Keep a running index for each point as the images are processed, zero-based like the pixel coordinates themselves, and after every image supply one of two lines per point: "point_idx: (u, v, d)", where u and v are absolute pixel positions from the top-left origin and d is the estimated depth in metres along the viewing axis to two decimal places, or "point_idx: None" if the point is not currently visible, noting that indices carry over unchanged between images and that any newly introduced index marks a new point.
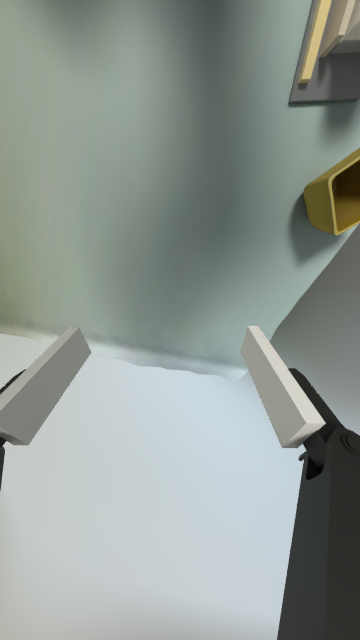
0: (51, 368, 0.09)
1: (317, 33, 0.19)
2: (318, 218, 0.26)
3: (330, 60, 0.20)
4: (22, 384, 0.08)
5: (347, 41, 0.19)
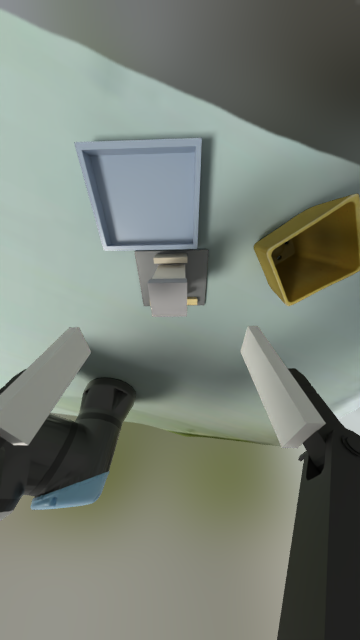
0: (51, 368, 0.09)
1: None
2: None
3: (188, 285, 0.28)
4: (22, 384, 0.08)
5: None
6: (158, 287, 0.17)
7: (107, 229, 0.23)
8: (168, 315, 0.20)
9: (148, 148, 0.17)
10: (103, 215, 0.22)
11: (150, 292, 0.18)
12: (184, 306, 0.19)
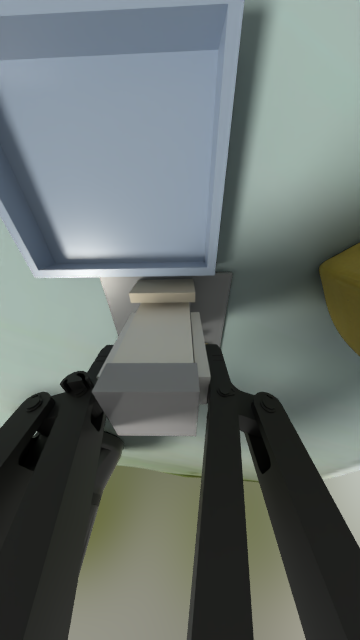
0: None
1: None
2: None
3: None
4: None
5: None
6: (123, 398, 0.07)
7: (41, 237, 0.12)
8: (154, 434, 0.09)
9: (93, 17, 0.06)
10: (26, 209, 0.11)
11: (104, 405, 0.07)
12: (190, 425, 0.08)
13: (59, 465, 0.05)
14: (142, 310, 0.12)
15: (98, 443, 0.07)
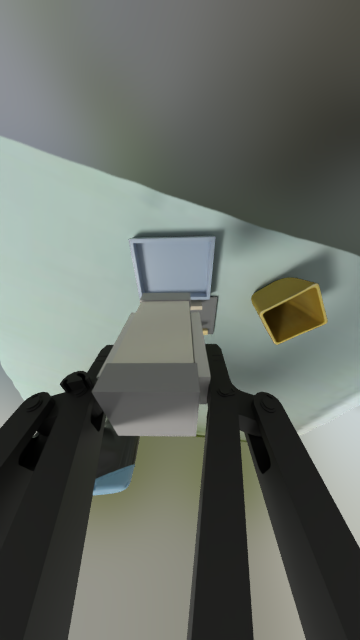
0: None
1: None
2: None
3: None
4: None
5: None
6: (123, 398, 0.07)
7: (142, 284, 0.30)
8: (154, 434, 0.09)
9: (178, 241, 0.25)
10: (141, 276, 0.29)
11: (104, 405, 0.07)
12: (190, 425, 0.08)
13: (59, 465, 0.05)
14: (142, 310, 0.12)
15: (98, 442, 0.07)
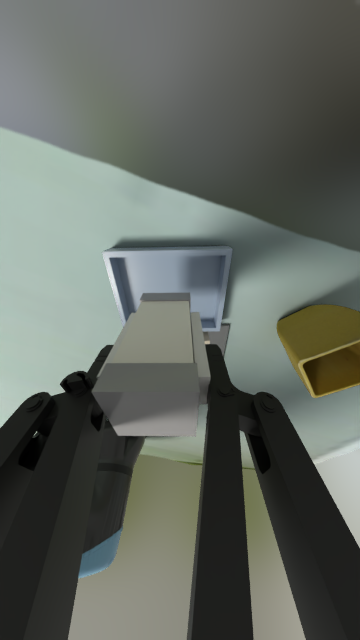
0: None
1: None
2: None
3: None
4: None
5: None
6: (122, 398, 0.07)
7: (128, 310, 0.22)
8: (154, 434, 0.09)
9: (177, 255, 0.17)
10: (125, 300, 0.21)
11: (104, 405, 0.07)
12: (190, 425, 0.08)
13: (59, 465, 0.05)
14: (142, 310, 0.12)
15: (98, 443, 0.07)
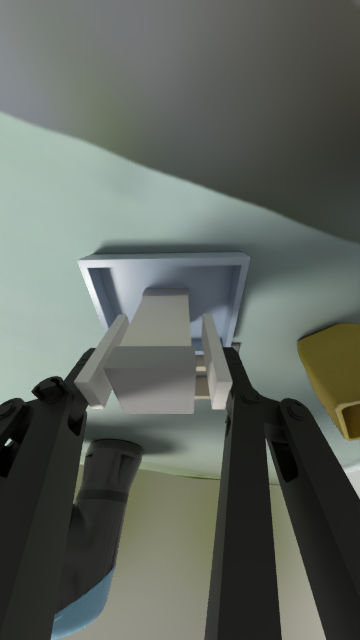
0: None
1: None
2: None
3: None
4: (99, 357, 0.09)
5: None
6: (129, 374, 0.08)
7: None
8: (156, 412, 0.10)
9: None
10: (113, 318, 0.17)
11: (113, 382, 0.08)
12: (189, 402, 0.09)
13: (33, 473, 0.05)
14: (144, 303, 0.13)
15: (77, 447, 0.07)
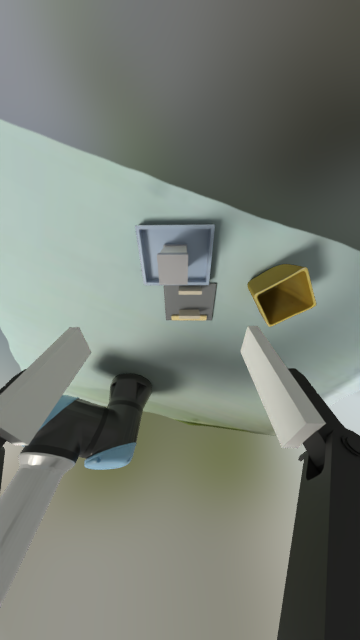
0: (51, 368, 0.09)
1: (193, 318, 0.39)
2: None
3: (200, 306, 0.38)
4: (22, 384, 0.08)
5: None
6: (165, 258, 0.22)
7: (146, 270, 0.33)
8: (172, 283, 0.24)
9: (181, 228, 0.27)
10: (145, 262, 0.32)
11: (158, 262, 0.22)
12: (185, 275, 0.23)
13: None
14: (165, 247, 0.27)
15: None
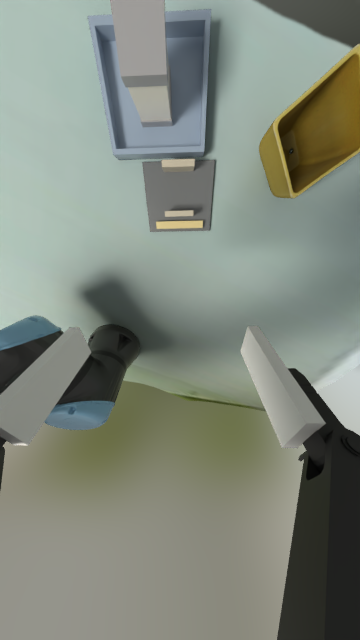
0: (51, 368, 0.09)
1: (185, 225, 0.29)
2: None
3: (194, 205, 0.28)
4: (22, 384, 0.08)
5: (171, 110, 0.21)
6: None
7: (116, 133, 0.23)
8: (142, 72, 0.15)
9: None
10: (113, 115, 0.22)
11: (113, 7, 0.13)
12: (162, 47, 0.14)
13: None
14: None
15: None
